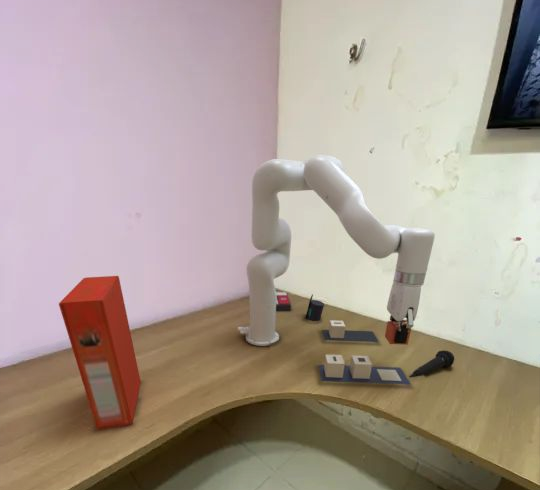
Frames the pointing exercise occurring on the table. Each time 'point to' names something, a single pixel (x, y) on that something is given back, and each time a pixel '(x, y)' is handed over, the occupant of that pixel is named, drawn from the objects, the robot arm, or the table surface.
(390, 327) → the block
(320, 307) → the speaker
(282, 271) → the robot arm
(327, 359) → the white cube
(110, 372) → the file binder
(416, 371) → the microphone
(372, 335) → the back mat
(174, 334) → the table surface
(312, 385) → the table surface
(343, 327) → the block
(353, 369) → the block
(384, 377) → the front mat
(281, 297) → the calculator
